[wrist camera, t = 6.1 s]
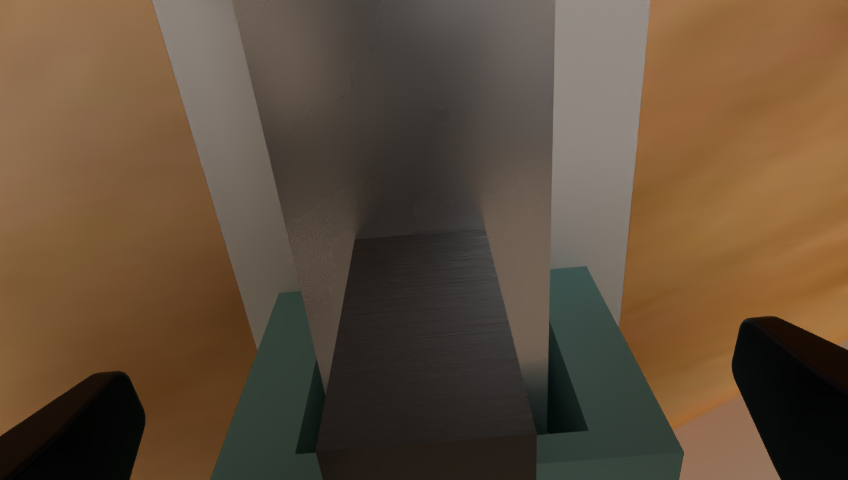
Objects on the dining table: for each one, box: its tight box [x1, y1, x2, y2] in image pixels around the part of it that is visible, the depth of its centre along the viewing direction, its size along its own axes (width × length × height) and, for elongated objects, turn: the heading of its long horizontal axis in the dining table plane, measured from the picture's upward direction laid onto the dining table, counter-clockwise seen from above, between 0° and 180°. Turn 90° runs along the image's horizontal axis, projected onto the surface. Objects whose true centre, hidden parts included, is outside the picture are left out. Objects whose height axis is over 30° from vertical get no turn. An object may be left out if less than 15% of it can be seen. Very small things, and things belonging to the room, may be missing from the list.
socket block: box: [210, 266, 684, 480], centre depth 13 cm, size 4×8×6 cm, turn 95°
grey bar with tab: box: [232, 0, 556, 480], centre depth 8 cm, size 16×4×8 cm, turn 5°
